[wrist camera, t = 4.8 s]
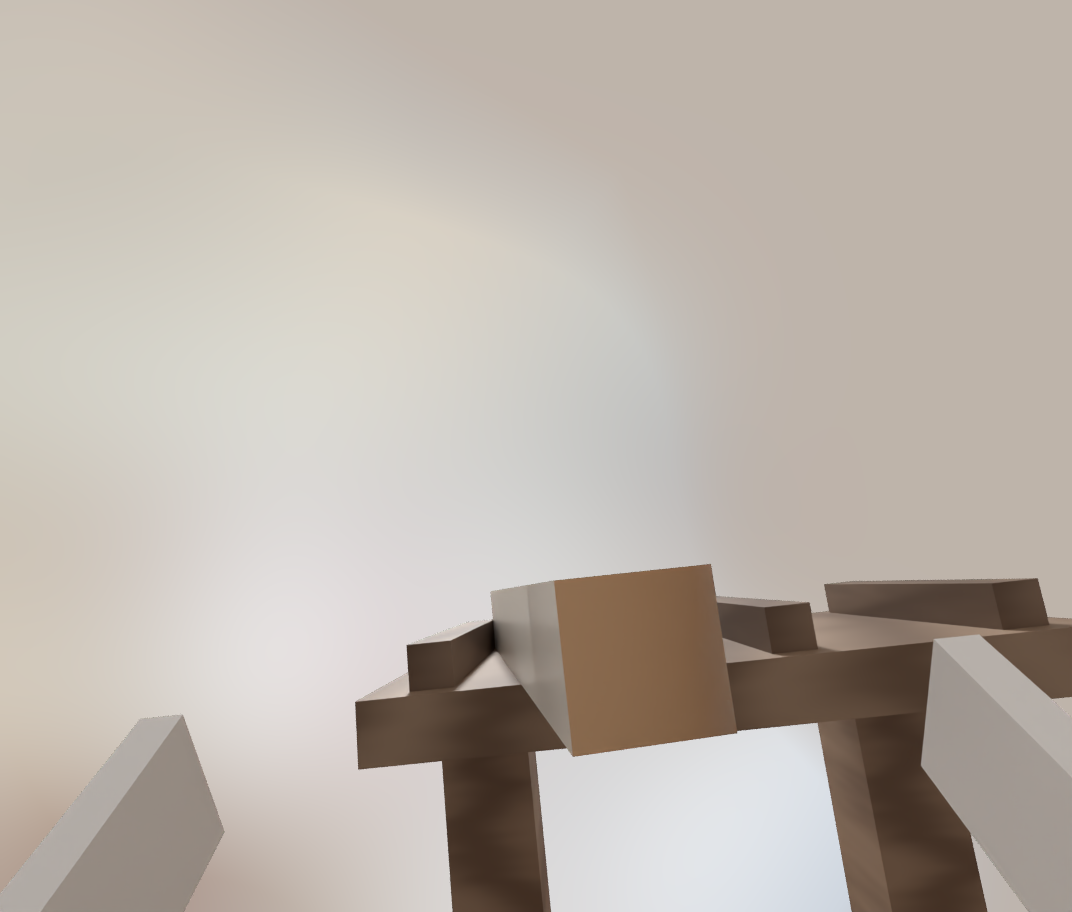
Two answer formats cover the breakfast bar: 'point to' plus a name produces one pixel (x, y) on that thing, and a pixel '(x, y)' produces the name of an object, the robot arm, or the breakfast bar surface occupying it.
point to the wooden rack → (759, 702)
